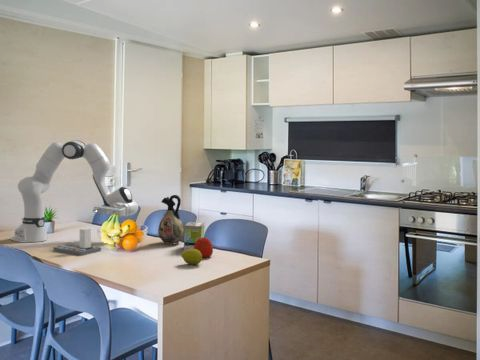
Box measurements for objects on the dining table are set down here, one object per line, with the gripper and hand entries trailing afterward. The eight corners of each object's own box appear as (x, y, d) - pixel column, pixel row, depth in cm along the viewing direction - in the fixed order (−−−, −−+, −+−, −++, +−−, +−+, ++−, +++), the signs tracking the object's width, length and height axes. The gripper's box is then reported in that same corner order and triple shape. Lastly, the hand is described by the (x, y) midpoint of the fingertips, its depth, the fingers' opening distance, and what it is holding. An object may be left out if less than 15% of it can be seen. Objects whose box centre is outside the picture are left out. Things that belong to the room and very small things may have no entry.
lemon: (205, 264, 225) (205, 248, 224) (197, 267, 218) (197, 251, 217) (186, 261, 229) (187, 246, 229) (178, 265, 222) (178, 248, 222)
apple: (195, 259, 235) (195, 239, 235) (191, 255, 245) (192, 235, 245) (214, 258, 238) (214, 238, 238) (210, 254, 248) (210, 235, 248)
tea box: (201, 252, 253) (201, 225, 253) (183, 251, 254) (183, 225, 253) (204, 246, 269) (204, 221, 268) (187, 246, 269) (187, 221, 268)
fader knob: (77, 248, 245) (77, 229, 245) (84, 246, 250) (84, 227, 249) (85, 249, 242) (85, 230, 242) (92, 247, 247) (92, 228, 246)
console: (53, 251, 248) (53, 246, 247) (73, 246, 260) (73, 242, 260) (81, 255, 238) (81, 250, 238) (100, 251, 250) (100, 246, 250)
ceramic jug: (153, 244, 271) (153, 194, 269) (164, 240, 286) (165, 193, 284) (179, 247, 266) (180, 196, 264) (189, 242, 281) (190, 194, 279)
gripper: (104, 202, 276) (86, 204, 264) (130, 206, 266) (113, 208, 254) (103, 213, 276) (86, 215, 264) (129, 217, 267) (112, 219, 255)
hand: (99, 211), depth 259 cm, fingers open, 8 cm apart
